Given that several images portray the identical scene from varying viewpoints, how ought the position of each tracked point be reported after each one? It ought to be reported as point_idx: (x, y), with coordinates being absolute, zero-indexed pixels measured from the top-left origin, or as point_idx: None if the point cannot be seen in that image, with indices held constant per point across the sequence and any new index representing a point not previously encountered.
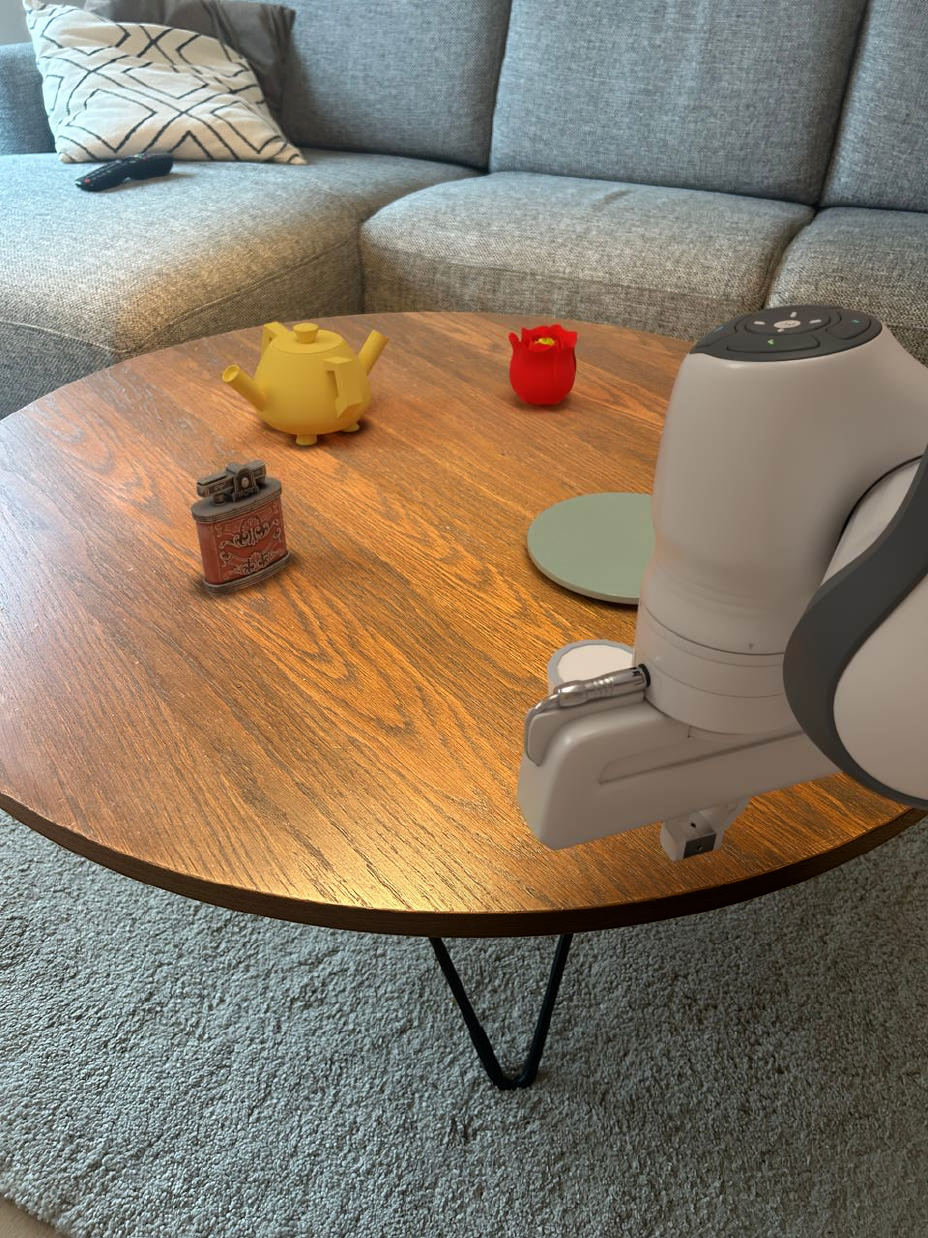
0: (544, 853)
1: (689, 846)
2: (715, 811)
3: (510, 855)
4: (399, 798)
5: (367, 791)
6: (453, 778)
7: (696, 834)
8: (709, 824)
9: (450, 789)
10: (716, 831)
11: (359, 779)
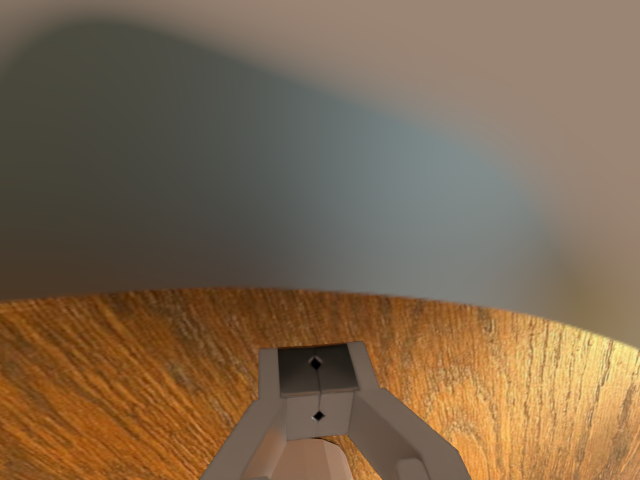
0: (437, 367)
1: (344, 372)
2: (270, 450)
3: (474, 371)
4: (519, 441)
5: (538, 450)
6: None
7: (328, 398)
8: (286, 415)
9: (469, 444)
10: (284, 400)
11: (534, 460)
